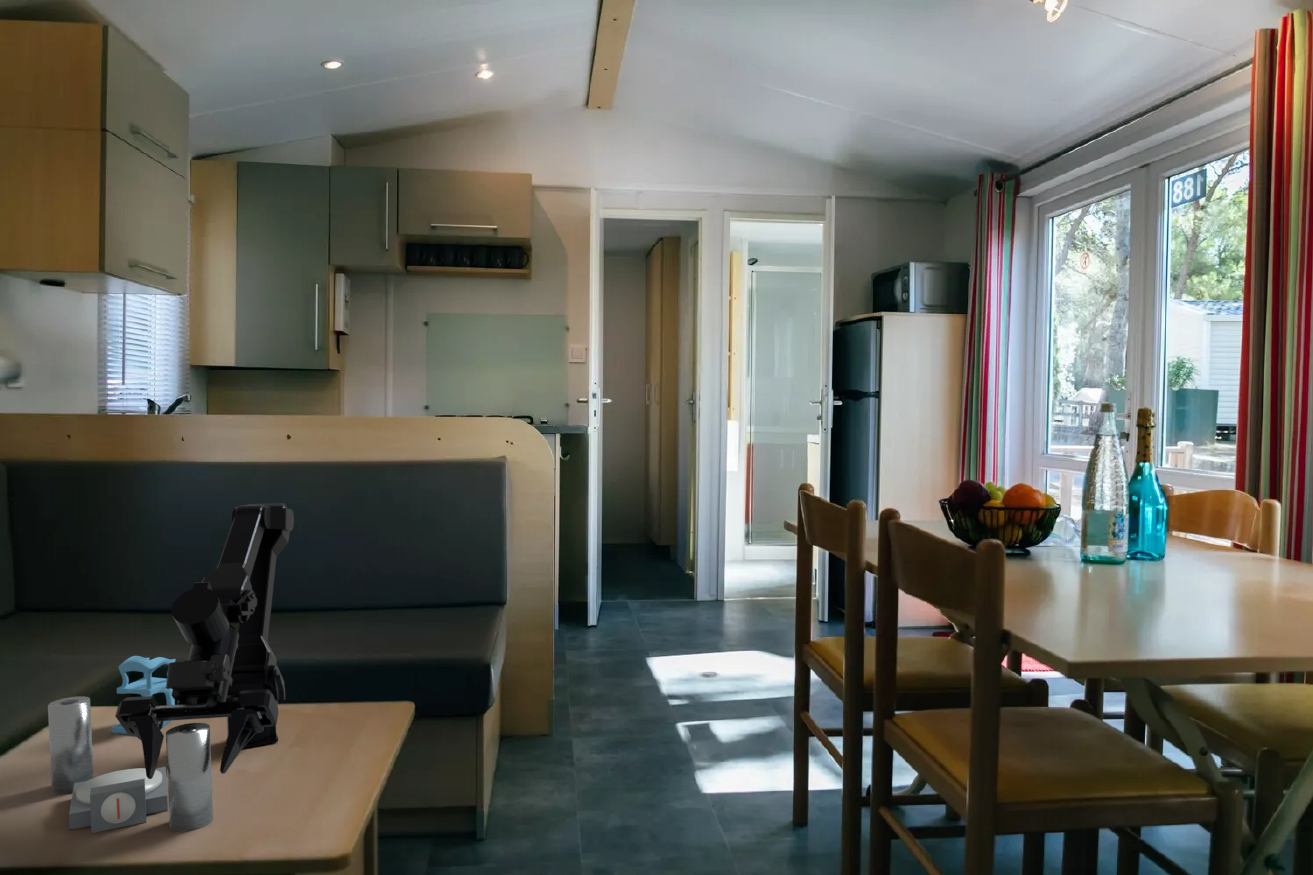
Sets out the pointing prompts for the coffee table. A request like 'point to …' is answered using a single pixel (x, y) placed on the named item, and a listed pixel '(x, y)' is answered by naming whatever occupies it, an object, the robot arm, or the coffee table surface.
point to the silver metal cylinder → (189, 776)
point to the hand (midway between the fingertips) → (185, 774)
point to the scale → (118, 799)
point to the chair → (144, 681)
